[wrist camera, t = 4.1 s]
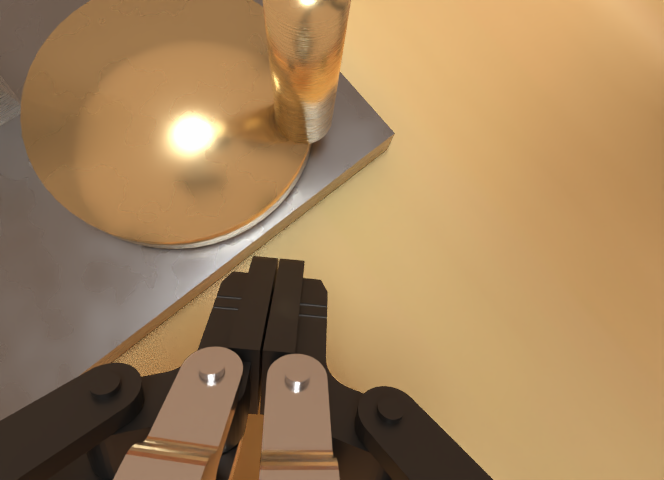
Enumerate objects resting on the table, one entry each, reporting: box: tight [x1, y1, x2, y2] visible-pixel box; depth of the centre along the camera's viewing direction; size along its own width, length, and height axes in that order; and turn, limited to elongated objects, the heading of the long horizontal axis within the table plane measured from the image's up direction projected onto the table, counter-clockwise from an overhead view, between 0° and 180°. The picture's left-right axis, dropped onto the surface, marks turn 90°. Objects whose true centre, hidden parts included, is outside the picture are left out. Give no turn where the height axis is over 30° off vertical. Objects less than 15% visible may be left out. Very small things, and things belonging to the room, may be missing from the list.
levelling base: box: [0, 0, 395, 421], centre depth 19 cm, size 22×20×10 cm
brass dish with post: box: [20, 0, 351, 249], centre depth 17 cm, size 13×13×10 cm
